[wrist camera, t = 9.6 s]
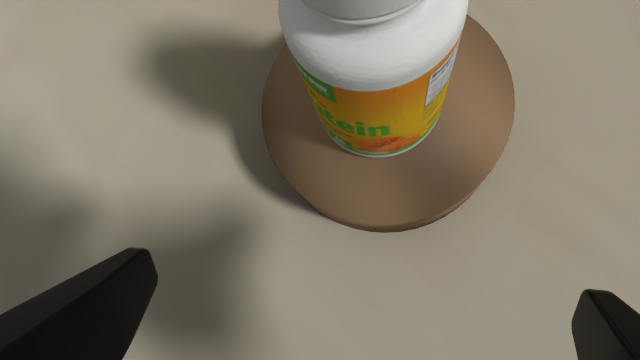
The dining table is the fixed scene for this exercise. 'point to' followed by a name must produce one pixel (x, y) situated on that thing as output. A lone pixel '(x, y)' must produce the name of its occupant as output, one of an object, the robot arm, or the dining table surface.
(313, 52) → the supplement bottle
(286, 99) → the plinth
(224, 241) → the dining table surface
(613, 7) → the dining table surface
